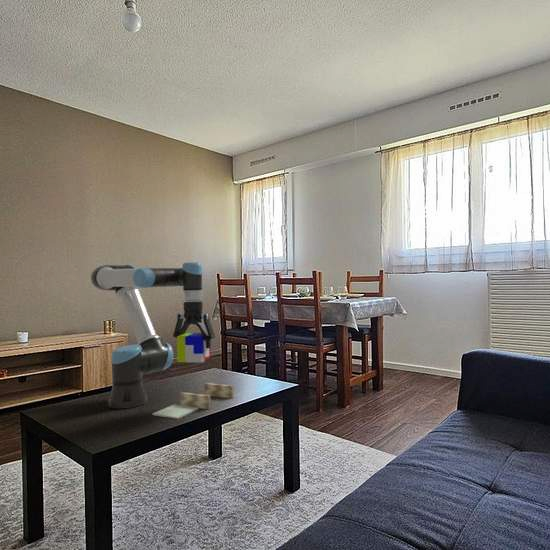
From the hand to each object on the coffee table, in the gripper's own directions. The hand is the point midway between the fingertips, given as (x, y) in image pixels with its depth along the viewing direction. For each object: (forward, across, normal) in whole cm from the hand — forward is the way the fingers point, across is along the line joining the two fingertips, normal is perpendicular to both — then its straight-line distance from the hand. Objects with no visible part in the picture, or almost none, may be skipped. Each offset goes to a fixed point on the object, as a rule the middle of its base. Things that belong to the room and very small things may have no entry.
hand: (194, 355), depth 166 cm
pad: (+20, -2, -10) cm, 22 cm away
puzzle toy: (+2, 0, 0) cm, 2 cm away
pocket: (+20, +2, +6) cm, 21 cm away
